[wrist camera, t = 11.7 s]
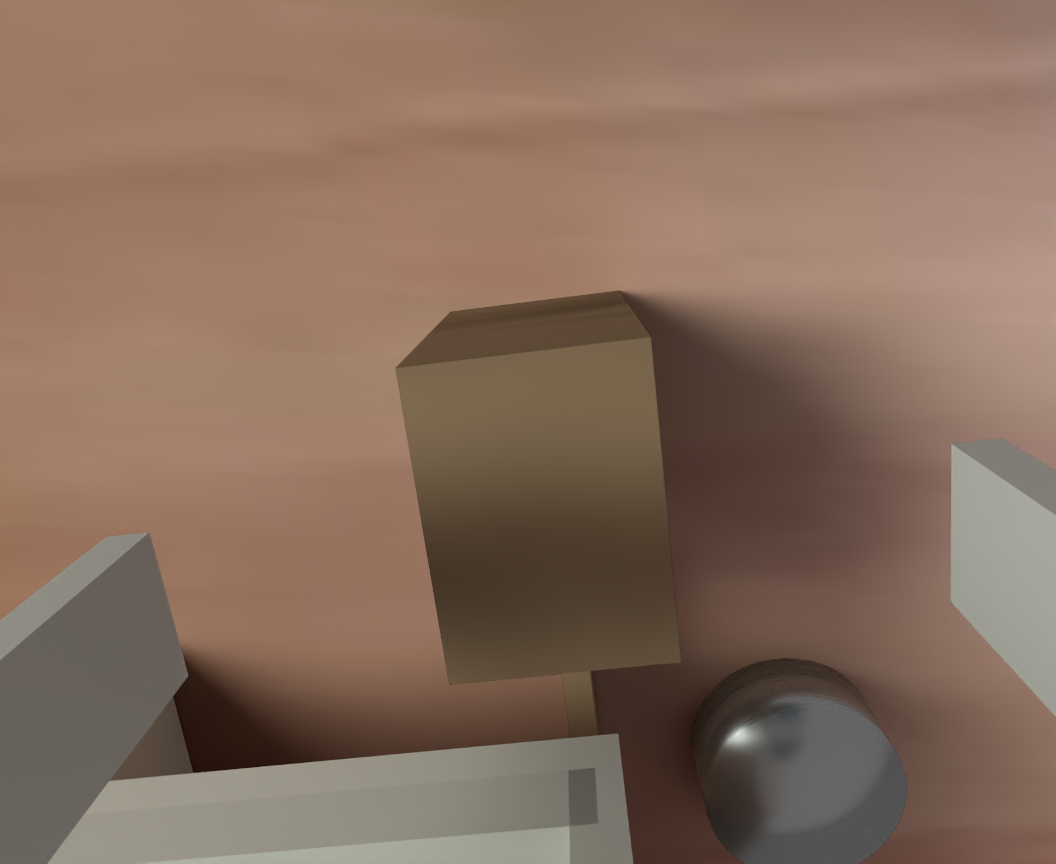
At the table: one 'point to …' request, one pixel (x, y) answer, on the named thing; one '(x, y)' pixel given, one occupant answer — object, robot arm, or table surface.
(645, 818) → the table surface
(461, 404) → the tan block on stick
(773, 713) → the shiny grey metal dome
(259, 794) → the shelf cabinet
